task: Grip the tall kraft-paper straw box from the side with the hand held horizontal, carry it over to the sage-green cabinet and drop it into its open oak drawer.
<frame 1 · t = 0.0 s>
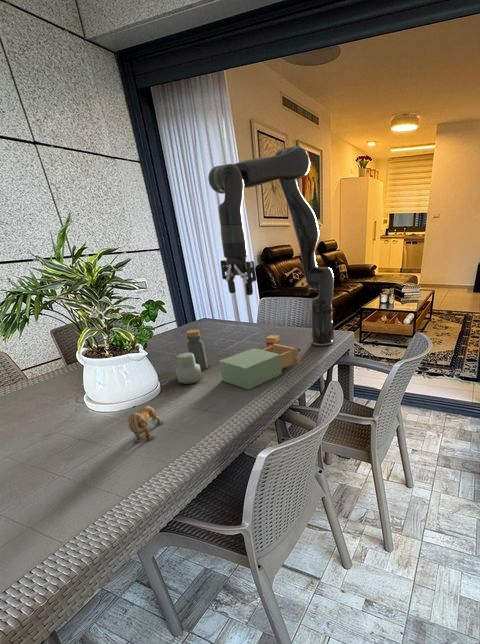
hand: (240, 293, 119), 29 cm above the table, tool pointing down, fingers open, 8 cm apart
lion figurine: (149, 435, 96), on the table
air freshener: (190, 381, 129), on the table
drawer: (277, 357, 138), point 4 cm above the table, slide at 9.5 cm
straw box: (274, 354, 152), on the table
bottle: (200, 368, 140), on the table
cabinet: (252, 377, 130), on the table
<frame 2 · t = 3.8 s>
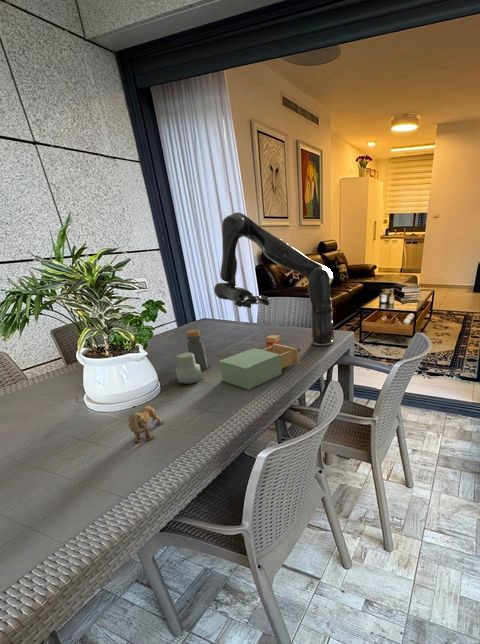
hand: (259, 304, 150), 20 cm above the table, tool horizontal, fingers open, 8 cm apart
nothing on the table moved.
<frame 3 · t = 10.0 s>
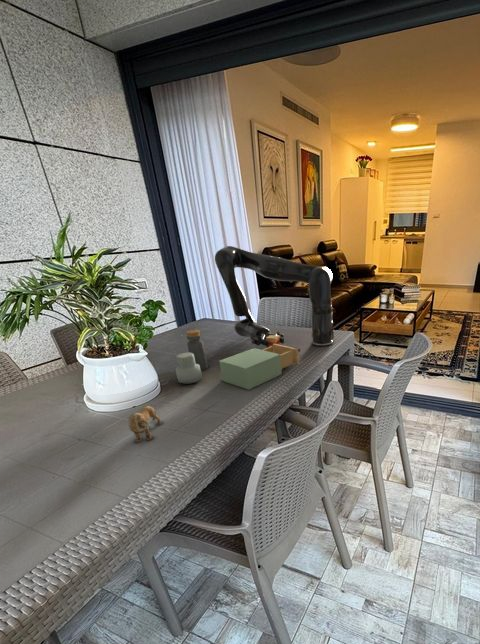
hand: (275, 342, 147), 6 cm above the table, tool horizontal, fingers closed on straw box, 6 cm apart
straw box: (274, 354, 152), on the table, touching gripper
everything else where it was.
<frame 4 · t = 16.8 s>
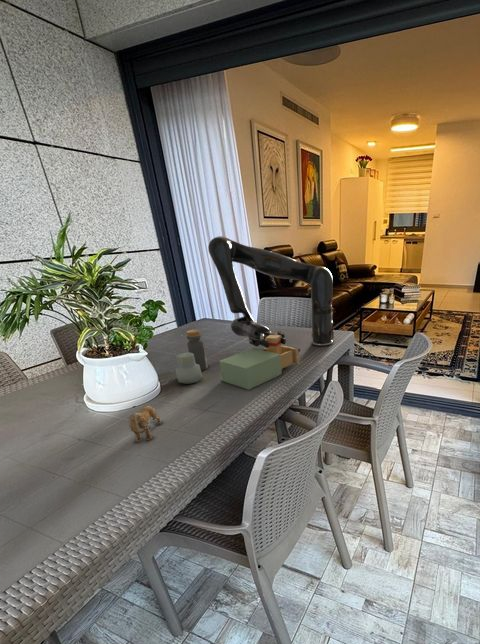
hand: (276, 343, 132), 10 cm above the table, tool horizontal, fingers closed on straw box, 6 cm apart
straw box: (274, 356, 137), point 4 cm above the table, touching gripper
everything else where it was.
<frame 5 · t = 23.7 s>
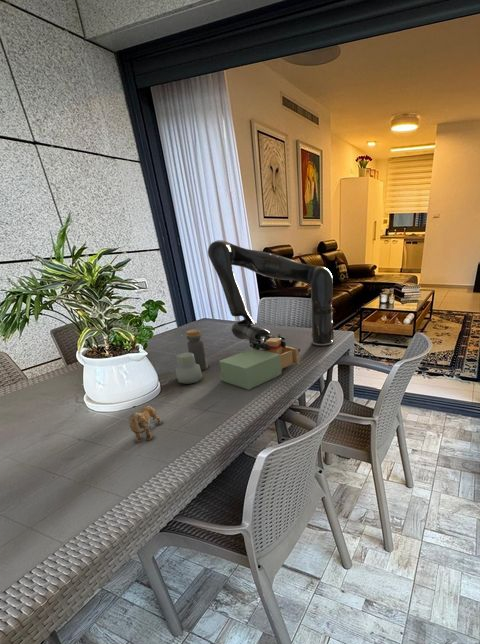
hand: (276, 346, 133), 9 cm above the table, tool horizontal, fingers closed on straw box, 6 cm apart
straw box: (275, 359, 137), point 3 cm above the table, touching gripper
everything else where it was.
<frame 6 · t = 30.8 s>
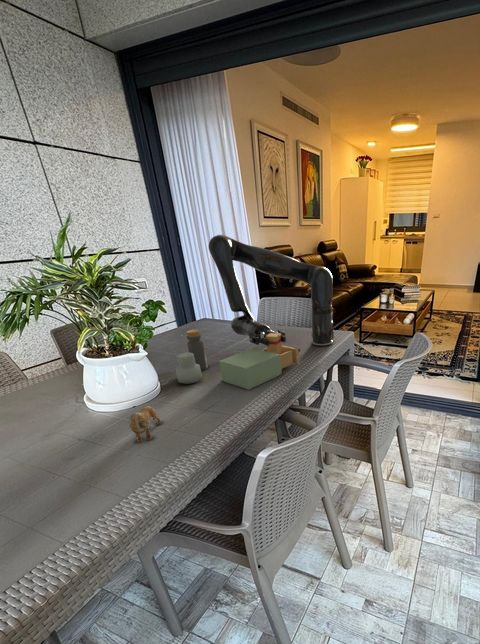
hand: (276, 341, 132), 11 cm above the table, tool horizontal, fingers closed on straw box, 6 cm apart
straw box: (275, 355, 136), point 5 cm above the table, touching gripper
everything else where it was.
when the fingers open (12 cm above the table, at t = 37.4 s): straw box drops 4 cm, resting on drawer.
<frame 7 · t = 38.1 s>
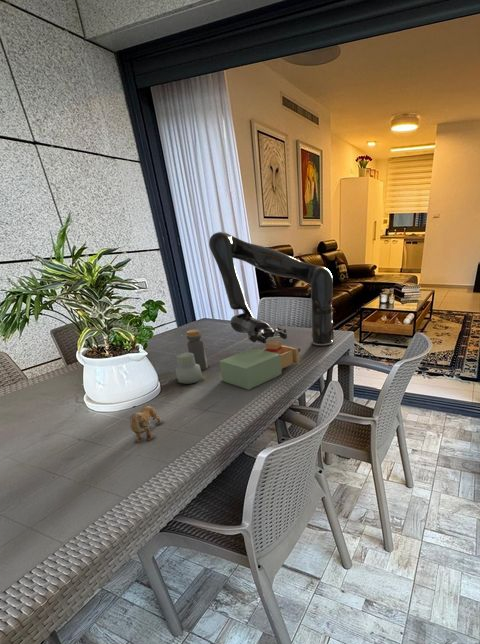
hand: (275, 338, 132), 12 cm above the table, tool horizontal, fingers open, 8 cm apart
drawer: (277, 357, 138), point 4 cm above the table, slide at 9.6 cm, touching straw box
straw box: (275, 362, 138), point 2 cm above the table, touching drawer
everything else where it was.
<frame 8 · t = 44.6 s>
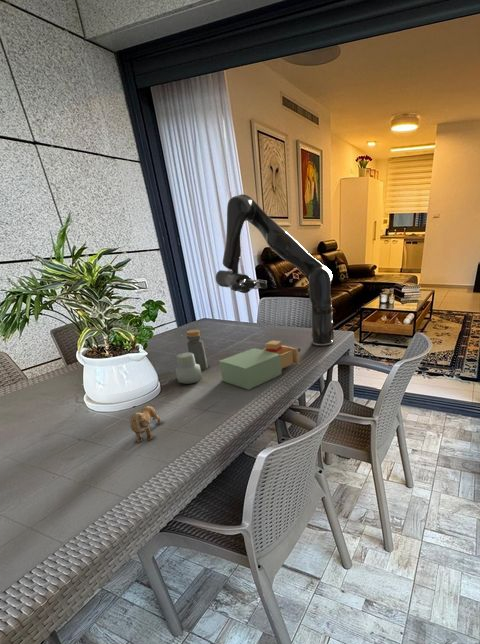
hand: (255, 287, 139), 28 cm above the table, tool horizontal, fingers open, 8 cm apart
nothing on the table moved.
at the end: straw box inside the target area in the drawer (0.2 cm from its centre), point 2.1 cm above the cabinet's base; the gripper is holding nothing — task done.
